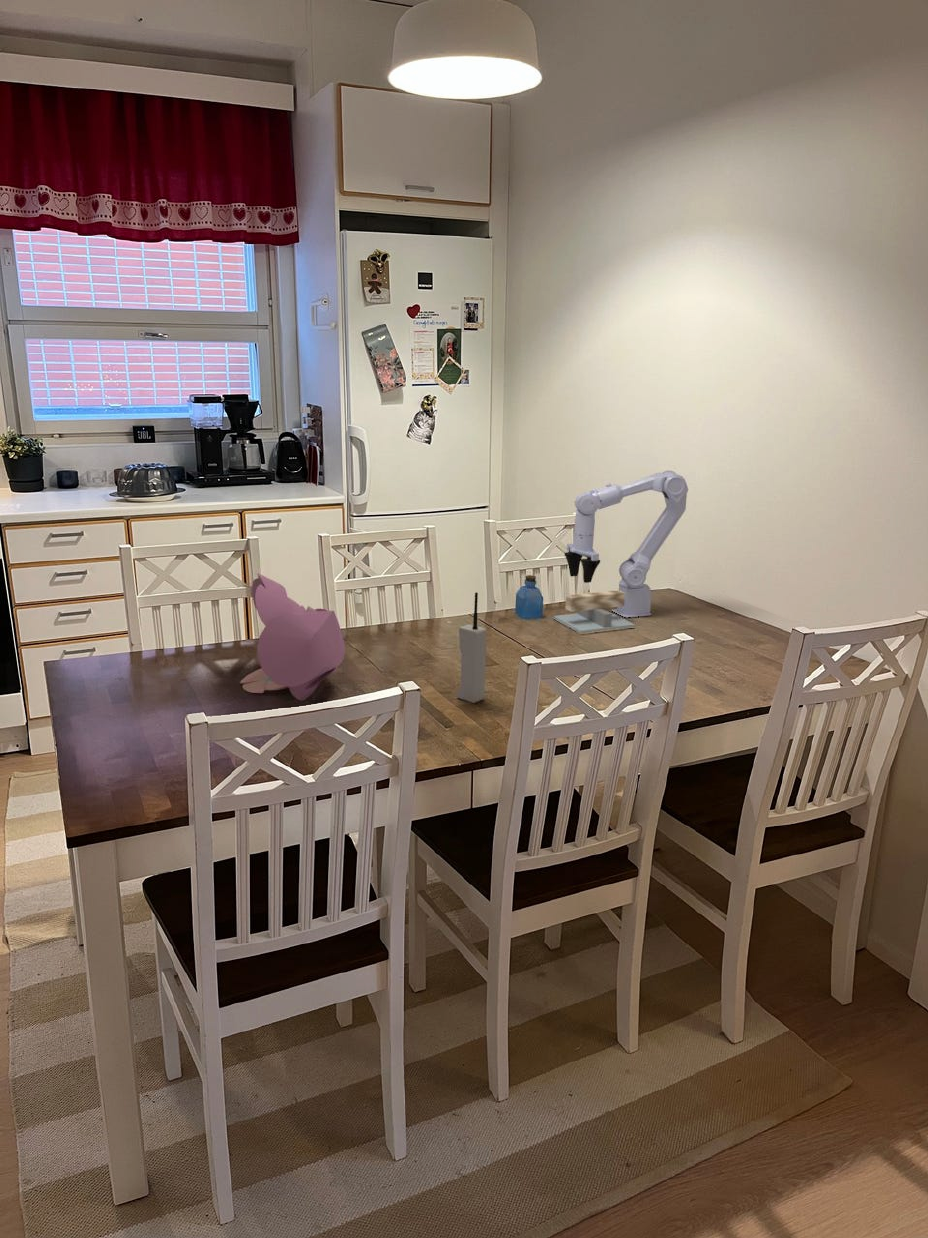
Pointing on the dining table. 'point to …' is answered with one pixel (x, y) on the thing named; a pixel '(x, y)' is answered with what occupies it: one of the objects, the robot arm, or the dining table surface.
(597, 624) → the stand
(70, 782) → the dining table surface
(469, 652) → the vintage mobile phone
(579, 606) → the ash batten
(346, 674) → the dining table surface
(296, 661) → the purple toy bird
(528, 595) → the perfume bottle
